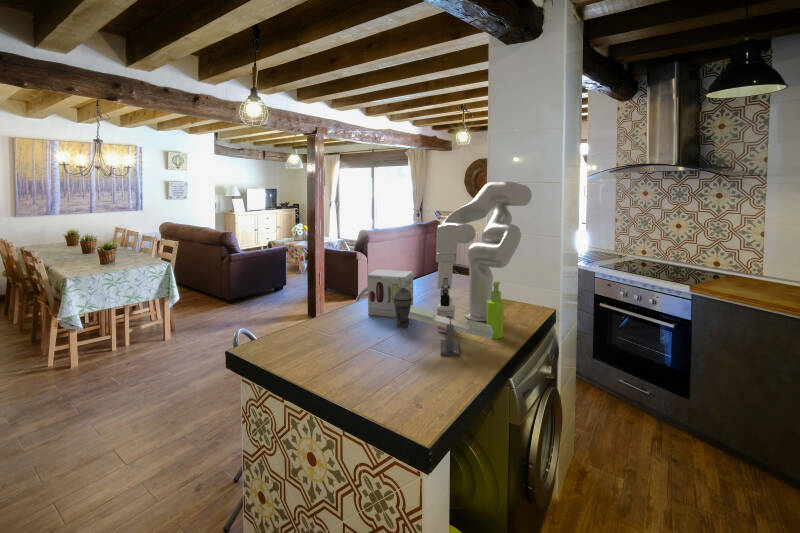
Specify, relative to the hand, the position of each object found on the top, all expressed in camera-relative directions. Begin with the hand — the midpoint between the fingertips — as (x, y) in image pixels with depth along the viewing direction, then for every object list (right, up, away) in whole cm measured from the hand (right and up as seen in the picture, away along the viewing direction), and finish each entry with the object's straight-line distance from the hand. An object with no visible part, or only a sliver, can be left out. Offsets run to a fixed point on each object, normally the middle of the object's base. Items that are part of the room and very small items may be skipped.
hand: (444, 302), depth 155 cm
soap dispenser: (+18, -12, -4) cm, 22 cm away
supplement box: (-21, -7, +26) cm, 34 cm away
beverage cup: (-16, -10, +7) cm, 20 cm away
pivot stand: (0, -14, -16) cm, 21 cm away
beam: (0, -5, -18) cm, 18 cm away
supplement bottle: (+1, -11, +3) cm, 11 cm away
